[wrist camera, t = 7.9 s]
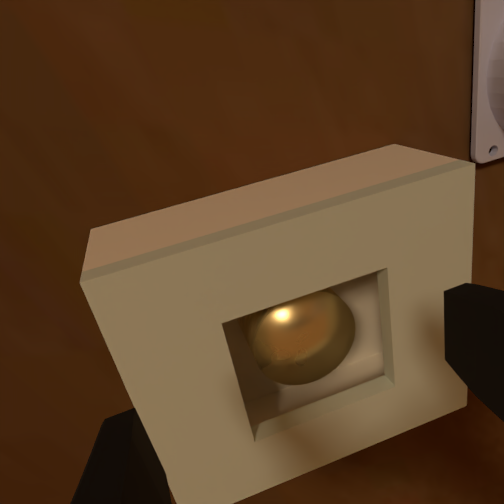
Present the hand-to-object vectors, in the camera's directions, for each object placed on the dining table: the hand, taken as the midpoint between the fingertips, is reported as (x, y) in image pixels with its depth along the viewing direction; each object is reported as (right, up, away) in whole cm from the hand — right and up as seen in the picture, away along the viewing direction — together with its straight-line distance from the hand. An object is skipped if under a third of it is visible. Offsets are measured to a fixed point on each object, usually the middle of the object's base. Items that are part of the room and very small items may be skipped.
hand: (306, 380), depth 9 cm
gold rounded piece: (0, 0, +11) cm, 11 cm away
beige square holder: (0, +1, +12) cm, 12 cm away
